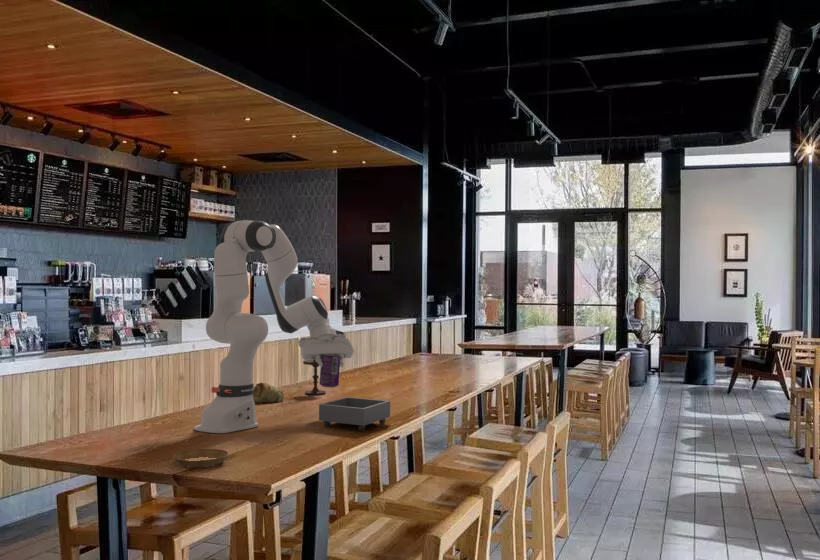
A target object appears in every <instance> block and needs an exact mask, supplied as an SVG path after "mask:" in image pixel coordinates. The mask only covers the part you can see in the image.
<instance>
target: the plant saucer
mask: <svg viewBox="0 0 820 560" xmlns="http://www.w3.org/2000/svg"><path fill="white" fill-rule="evenodd" d="M228 456H229V451H227V450H224V449H222V448H221V449H219V448H195V449H189V450H183V451H180V452H177V453H175V454H174V455H173V458H174V460H175V461H176V462H177V463H178V464H179V465H180V466H182V465H183V466H182V467H184V466H189V467H204V468H207V467H206V466H211V467H213V466H212V465H215V466H217V465H216V464H218V465H220V464H221V463H223V461H225V460H226V458H227V457H228ZM199 457H204V458H205V457H208V458H216V459H210V460H200V461H188V460H185V459H190V458H199ZM219 463H220V464H219ZM189 467H188V468H189Z"/></svg>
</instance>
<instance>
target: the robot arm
mask: <svg viewBox="0 0 820 560" xmlns="http://www.w3.org/2000/svg"><path fill="white" fill-rule="evenodd" d="M219 242H220V244H218V245H217V246H216V247H215V249H214V257H213V260H214V261H213V272H214V280H215V281H214V282H215V294H216V295H215V297H216V298H215V304H214V309H213V312H212V314H211V315H210V316H209V318H207V321H206V323H205V332H206V335H207V336H208V337H209V339H211V340H212V341H215V342H217V343H221V344H229V345H230V346H229V350H228V352H227V354H226V356H225V357H223V359H222V360H221V361H220V365H219V366H220V367H219V368H220V369H219V373H220V375H219V376H220V377H219V385H218V386H217V387H216V386H212V387H211V390H210V392H211V393H212V394H214V393H215V395H216V396H215V397H214V398H213V400H211V402H210V403H209V404H208V405H207V406H206V407H205V408H204V409H203V410H202V413H201V420H200V421H201V422H200V423H199V424H197V425H194V426H193V430H194V431H198V432H203V433H210V434H212V433H213V434H227V433H231V432H232V433H233V432H237V431H242V430H248V429H252V428H253V429H254V428H257V427H259V422H258V421H257V414H256V413H257V412H256V402H254V400H253V393H254V387H255V384H254V383H253V375H254V374H253V372H254V371H253V370H254V360H255V356H256V354H257V350H258V348H259V347H260V345H261V344H262V343H263V342H264V341H265V340H266V338H267V336H268V333H269V324H268V322H267V321H266V319H265V318H263V316H259V315H258V314H257V315H256V314H254V313H248V312H247V313H246V312H245V313H243V312H242V307H243V302H244V301H245V300H246V299H247V298H248V297H249V295H250V288H249V287H250V286H249V279H248V278H249V277H248V275H249V274H248V270H247V269H248V267H247V262H246V260H247V256H248V253H250V252H251V253H253V252H261V254H262V256H263V258H264V260H265V262H266V264H267V265H266V266H267V271H266V272H265V274H264V275H265V276H264V278H265V283H266V286H267V290H268V293H269V294H268V295H269V297H270V300H271V303H272V306H273V309H274V312H275V315H276V321H277V325H278V326H279V328H280V330H281V331H282V332H284V333H287V334H293V333H295V332H297V331H299V330H300V329H302V328H304V327H306V328H307V329H308V331H309V337H307V338H306V337H302V338H300V339H299V340H298V347H299V348H300V353H301V354H300V355H301V358H302V360H303V361H305V360H315V361H316V362H317V363H318V364H320V366H319V367H320V369H321V368H322V366H323V364H322V361H321V358H322V356H323V354H326V355H329V354H339V358H340V368H341V367H342V368H343V367H344V361H343V360H344V359H351V358H352V357H353V355H354V354H355V350H354V347H353V345H352V342H351V341H350V339H349V338H348V337H347V333H346V332H345V331H343V330H338V329H335V328H334V327H333V328H332V326H331V324H330V319H329V316H328V315H329V313H328V310H327V307H326V305H325V303H324V300H323V299H322V298H320V297H318V296H316V295H309V296H308V297H305V298H302V299H301V300H298V301H296V302H295V303H292V304H290V305H285V302H284V299H283V296H282V293H281V290H280V289H281V286H282V284H283V283H284V282H285V281H286V280H287V279H288V278H289V277H290V276H292V274H293V272H295V269H296V268H297V265H298V255H297V253H296V251H295V248H294V246H293V244H292V243H291V241H290V240H289V237H288V236H287V235H286V234H285V231H283V230H282V228H281V227H280V226H278V225H277V224H269V223H267V222H264V221H263V220H262V221H261V220H250V219H249V220H248V219H243V220H234V221H231V222H229V223H226V224H225V226H223V228H222V231H221V233H220V241H219Z"/></svg>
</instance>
